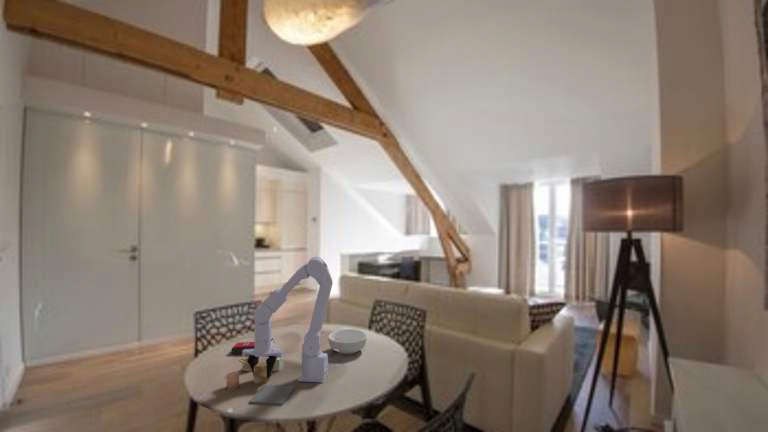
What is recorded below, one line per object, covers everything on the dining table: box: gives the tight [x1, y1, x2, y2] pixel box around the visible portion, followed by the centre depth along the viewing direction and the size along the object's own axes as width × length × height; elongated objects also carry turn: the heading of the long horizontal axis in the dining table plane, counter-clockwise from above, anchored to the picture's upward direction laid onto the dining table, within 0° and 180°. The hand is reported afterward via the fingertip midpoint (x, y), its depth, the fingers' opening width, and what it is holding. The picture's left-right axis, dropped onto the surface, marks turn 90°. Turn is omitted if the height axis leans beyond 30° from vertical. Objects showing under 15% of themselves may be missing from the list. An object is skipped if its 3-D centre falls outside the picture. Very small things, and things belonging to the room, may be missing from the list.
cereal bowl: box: [328, 328, 368, 355], centre depth 153 cm, size 17×17×7 cm
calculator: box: [231, 337, 274, 356], centre depth 154 cm, size 11×4×15 cm
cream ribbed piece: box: [238, 356, 260, 372], centre depth 134 cm, size 4×8×5 cm, turn 128°
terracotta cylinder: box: [225, 371, 240, 391], centre depth 120 cm, size 4×4×4 cm
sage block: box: [272, 354, 285, 372], centre depth 135 cm, size 4×4×4 cm
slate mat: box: [248, 384, 295, 406], centre depth 114 cm, size 11×11×1 cm
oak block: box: [253, 361, 272, 384], centre depth 125 cm, size 4×4×6 cm
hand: (262, 376), depth 125 cm, fingers closed on oak block, 4 cm apart
